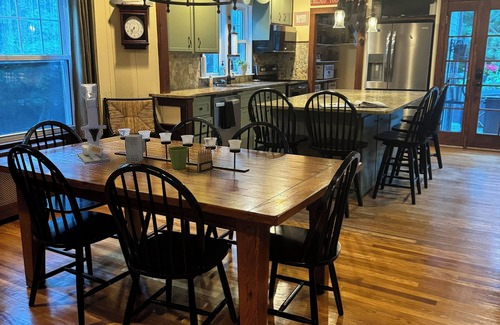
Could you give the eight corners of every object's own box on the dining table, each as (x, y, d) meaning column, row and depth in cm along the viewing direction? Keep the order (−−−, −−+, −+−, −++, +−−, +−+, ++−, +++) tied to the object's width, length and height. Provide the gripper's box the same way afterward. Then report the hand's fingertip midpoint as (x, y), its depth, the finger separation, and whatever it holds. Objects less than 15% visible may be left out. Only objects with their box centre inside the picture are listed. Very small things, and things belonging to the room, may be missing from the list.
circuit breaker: (146, 157, 280) (145, 132, 277) (138, 162, 266) (137, 136, 263) (134, 156, 281) (133, 132, 277) (126, 161, 267) (124, 136, 264)
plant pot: (181, 164, 259) (180, 145, 257) (194, 168, 251) (193, 148, 249) (163, 168, 251) (162, 148, 249) (176, 171, 243) (175, 151, 241)
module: (86, 150, 276) (89, 143, 276) (99, 154, 280) (102, 147, 280) (88, 151, 272) (90, 144, 272) (100, 155, 276) (103, 148, 276)
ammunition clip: (199, 173, 240) (198, 150, 238) (196, 172, 241) (196, 150, 239) (213, 169, 248) (212, 147, 246) (210, 168, 250) (210, 147, 247)
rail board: (77, 155, 285) (76, 145, 284) (100, 153, 292) (99, 143, 291) (85, 163, 263) (84, 153, 262) (109, 160, 270) (109, 150, 268)
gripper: (81, 120, 265) (83, 143, 268) (106, 118, 272) (108, 141, 275) (79, 119, 271) (81, 141, 274) (104, 117, 278) (105, 139, 281)
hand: (94, 141), depth 275 cm, fingers closed
